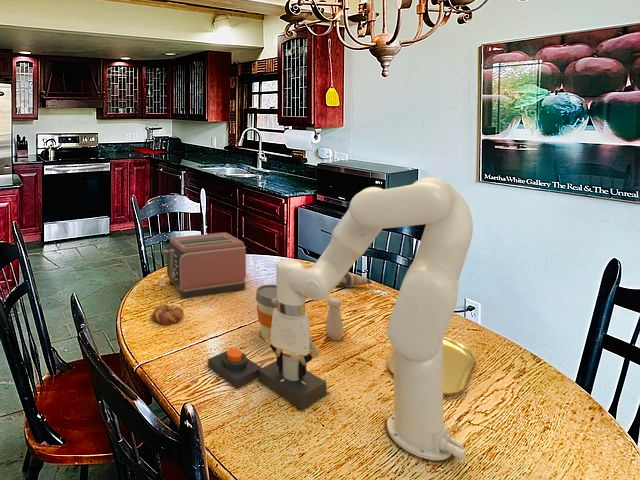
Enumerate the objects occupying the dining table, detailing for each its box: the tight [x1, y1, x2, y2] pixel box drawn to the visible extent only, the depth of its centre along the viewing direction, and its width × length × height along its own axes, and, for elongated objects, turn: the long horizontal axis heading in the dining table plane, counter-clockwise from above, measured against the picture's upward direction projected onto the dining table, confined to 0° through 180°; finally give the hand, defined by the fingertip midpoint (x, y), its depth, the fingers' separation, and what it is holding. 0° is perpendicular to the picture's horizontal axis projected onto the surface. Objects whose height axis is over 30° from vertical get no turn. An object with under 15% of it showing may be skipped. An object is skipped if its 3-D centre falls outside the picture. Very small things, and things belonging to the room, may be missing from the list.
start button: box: [226, 347, 243, 362], centre depth 116 cm, size 4×4×2 cm
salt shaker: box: [324, 296, 345, 341], centre depth 134 cm, size 6×6×13 cm
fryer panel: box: [258, 360, 327, 410], centre depth 109 cm, size 14×11×3 cm
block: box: [207, 350, 262, 389], centre depth 116 cm, size 12×10×4 cm
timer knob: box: [282, 351, 301, 381], centre depth 109 cm, size 5×5×5 cm
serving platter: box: [385, 336, 476, 396], centre depth 119 cm, size 19×35×2 cm, turn 134°
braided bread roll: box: [151, 304, 184, 326], centre depth 148 cm, size 12×11×4 cm
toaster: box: [162, 231, 247, 299], centre depth 177 cm, size 19×36×21 cm, turn 107°
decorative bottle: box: [308, 266, 372, 289], centre depth 177 cm, size 26×8×7 cm, turn 71°
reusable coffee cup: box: [255, 284, 277, 340], centre depth 135 cm, size 13×13×15 cm
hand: (291, 372), depth 109 cm, fingers closed on timer knob, 4 cm apart
